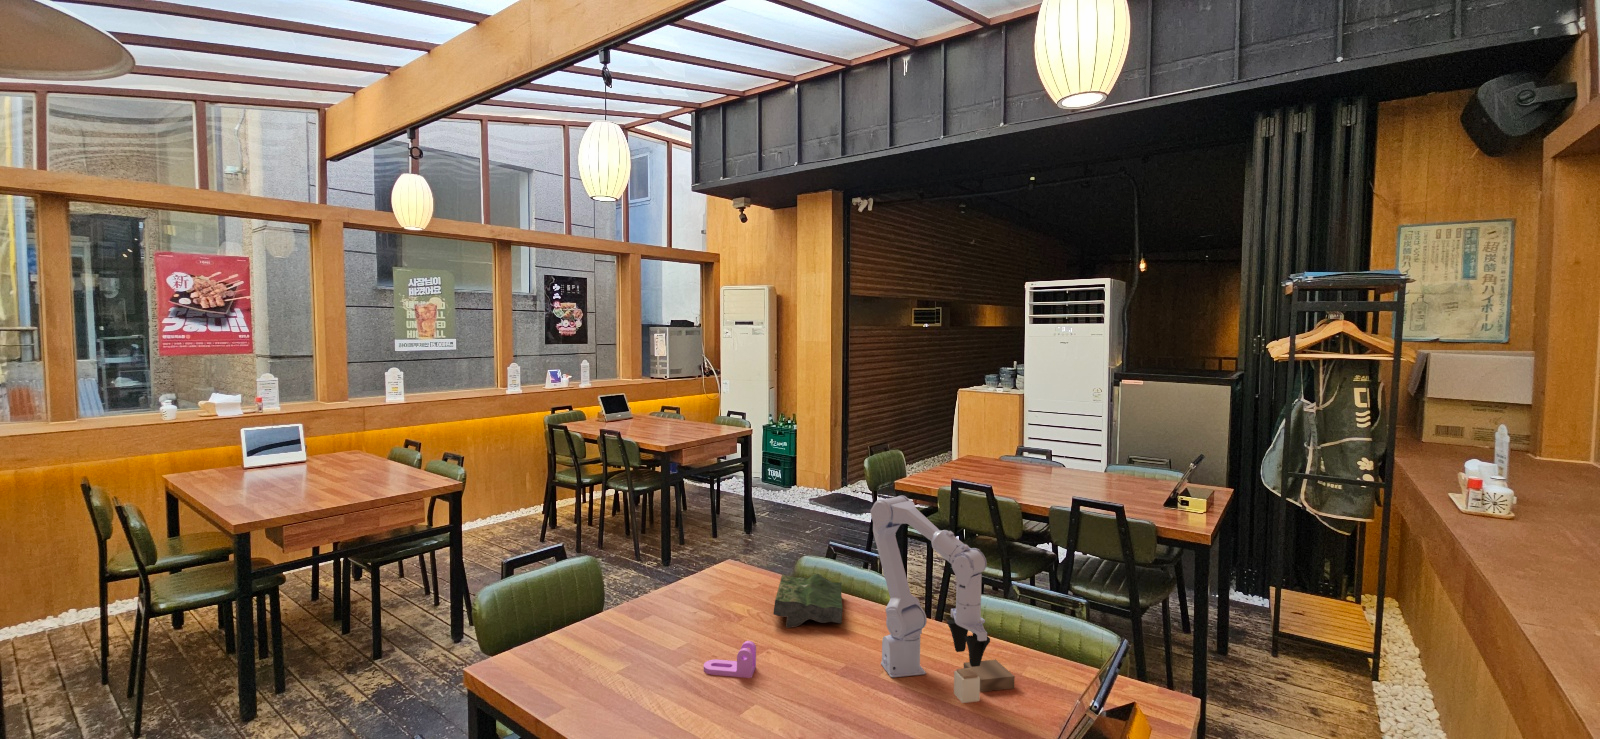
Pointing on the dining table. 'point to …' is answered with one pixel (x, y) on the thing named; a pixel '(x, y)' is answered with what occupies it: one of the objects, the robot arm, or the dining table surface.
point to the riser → (992, 675)
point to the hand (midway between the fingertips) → (967, 658)
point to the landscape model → (808, 600)
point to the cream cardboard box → (966, 685)
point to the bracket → (735, 663)
